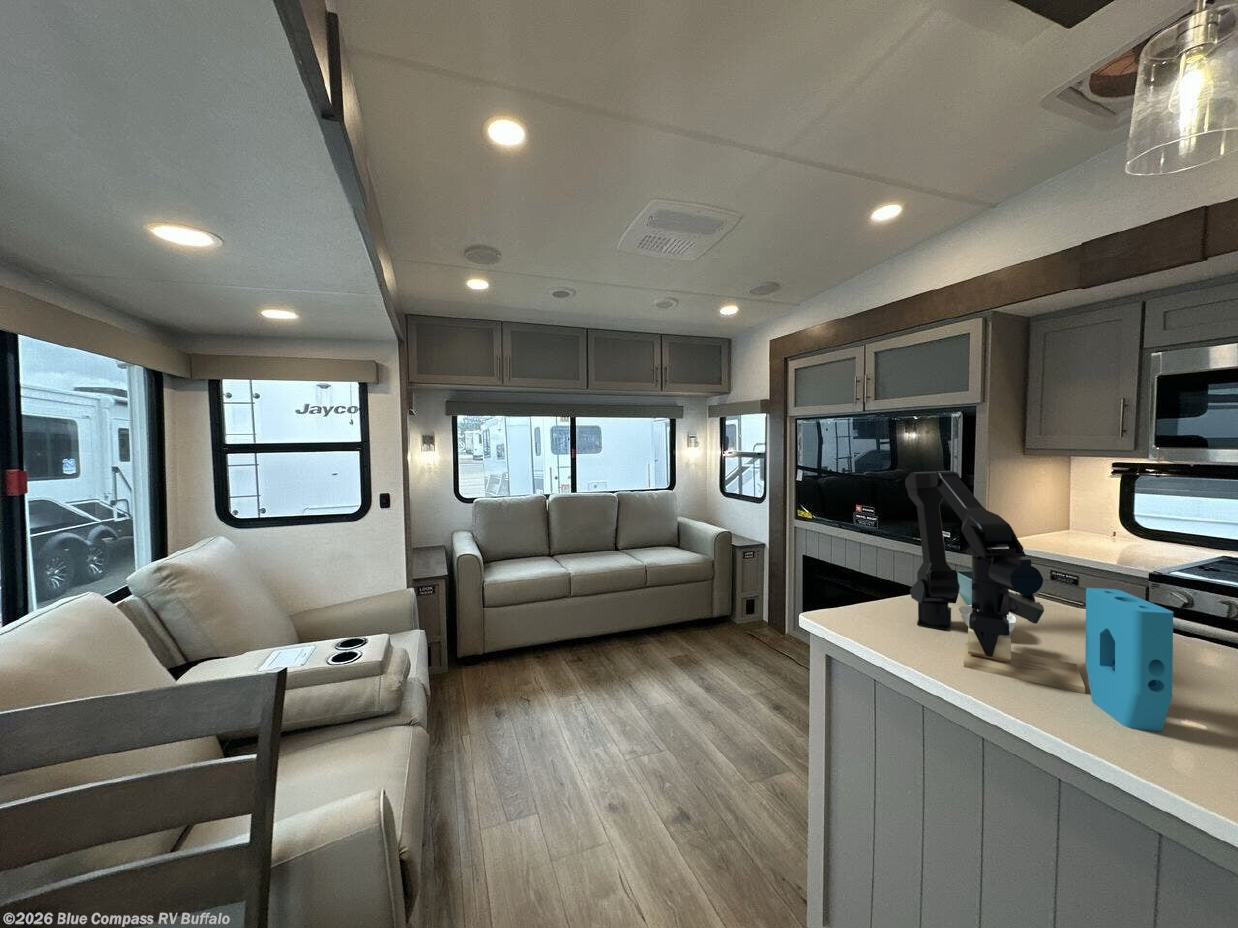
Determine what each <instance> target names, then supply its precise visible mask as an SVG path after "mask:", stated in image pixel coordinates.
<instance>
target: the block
mask: <svg viewBox="0 0 1238 928" xmlns="http://www.w3.org/2000/svg"><path fill="white" fill-rule="evenodd" d="M1173 654H1174V611H1172V610H1170V609H1167V608H1165V607H1162V606H1161V605H1158V604H1155V603H1153V602H1150V601H1147V600H1146V599H1143V598H1140V597H1139V596H1138V597H1137V596H1135V595H1134V594H1130V593H1127V592H1126V591H1123V590H1120V589H1115V588H1097V587H1094V588H1093V587H1086V589H1085V666H1086V673H1087V678H1088V684H1089V689H1090V690H1089V691H1090V697H1091V702H1092V703H1093V704H1094V705H1096V706H1097V707H1098V708H1100V709H1101V710H1102V711H1103V712H1105V713H1106V714H1107V715H1109V716H1110V717H1111V718H1113V719H1114V720H1115V721H1116V722H1118V723H1119V724H1120V725H1122V726H1124V727H1127V728H1129V729H1134V730H1142V731H1143V730H1144V731H1151V732H1162V731H1163V727H1164V724H1165V721H1166V718H1167V714H1168V711H1169V708H1170V705H1171V701H1172V697H1173V667H1174V665H1173V662H1174V661H1173V658H1174V655H1173Z"/></svg>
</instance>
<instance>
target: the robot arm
mask: <svg viewBox="0 0 1238 928" xmlns="http://www.w3.org/2000/svg"><path fill="white" fill-rule="evenodd" d="M904 484H905V485H904V486H905V488H906V491H907V494H908V498H910V500H911V501H912V502H913V504H914V505H915V506H916V512H917V519H918V527H919V535H920V545H921V554H922V564H921V565H920V567H919V569H918V570H917V573H916V575H917V576H916V577H917V580H916V582H915V583H914V584H913V585H912V586H911V588H910V589H909V592H910V597H911V599H913V600H914V601H916V602H917V614H918V615H917V616H918V617H917V621H916V625H917V626H919V627H920V626H921V627H926V628H931V629H935V630H936V629H937V630H943V631H949V628H950V627H951V626H952V607H950V606H949V604H956V603H957V601H958V596H959V595H960V594H959V590H960V585H959V582H958V573H957V571H958V570H956V569H952V567H951V566H950V565H949V563H948V562H947V557H946V548H945V538H944V532H943V531H944V530H943V524H942V517H941V510H940V509H941V508H940V505H941V503H942V501H943V500H944V499H945V501H946V502H947V504H948V505H949V507H951V509H952V510H953V511H954V512H955V514H956V515H957V516H958V517H959V520H961V522H962V524H961V525H962V526H961V532H962V534H963V537H964V538H965V540H966V541H967V543H968V545H969V546H970V547H969V548H968V549H966V551H965V553H966V554H968V555H971V571H972V613H971V614H970V617H969V628H970V629H972V630H973V631H974V633H975V635H976V636H977V638H978V640H979V642H980V644H981V647H982V649H983V651H984V653H985V655H986V656H990V657H992V656H993V653H994V650H995V646H996V643H997V639H998V636H1000V635H1004V636H1008V635H1009V620H1007V615H1009V613H1011V614H1012V615H1014V616H1015V615H1016V616H1018V617H1020V618H1023V619H1025V620H1026V621H1028V622H1030V623H1032V624H1035V625H1037V624H1038V623H1039V621H1040V619H1041V617H1042V616H1043V613H1044V611H1045V607H1044V605H1043V604H1041V602H1040V601H1036V597H1035V594H1036V593H1037V592H1039V591H1040V590H1041V588H1042V586H1043V584H1044V577H1043V576H1042V573H1041V571H1039V569H1037V567H1036V566H1035V567H1034V566H1033V565H1032V559H1029V558H1026V553H1025V551H1024V546H1023V545H1022V544H1021V542H1020V541H1019V538H1018V537H1017V535H1016V533H1015V531H1014V529H1013V527H1012V526H1011V525H1010V523H1009V522H1008V521H1006V520H1005V519H1004V518H1003V517H1002V516H1000V515H999V514H997V513H994V512H992V511H989V510H988V509H986V508H985V507H984V506H983V505H982V504H981V503H980V502H979V500H978V499H977V498H976V497H975V496H974V494H973V493H972V492H971V491H970V489H969V488H968V487H967V486H966V485H965V483H964V482H963V481H962V480H961V479H960V474H959V473H958V472H957V471H953V470H940V471H939V470H938V471H913V472H910V473H909V475H908V476H906V477H905V480H904ZM1010 590H1011V591H1013V592H1011V591H1010ZM1014 592H1015V593H1014Z"/></svg>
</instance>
